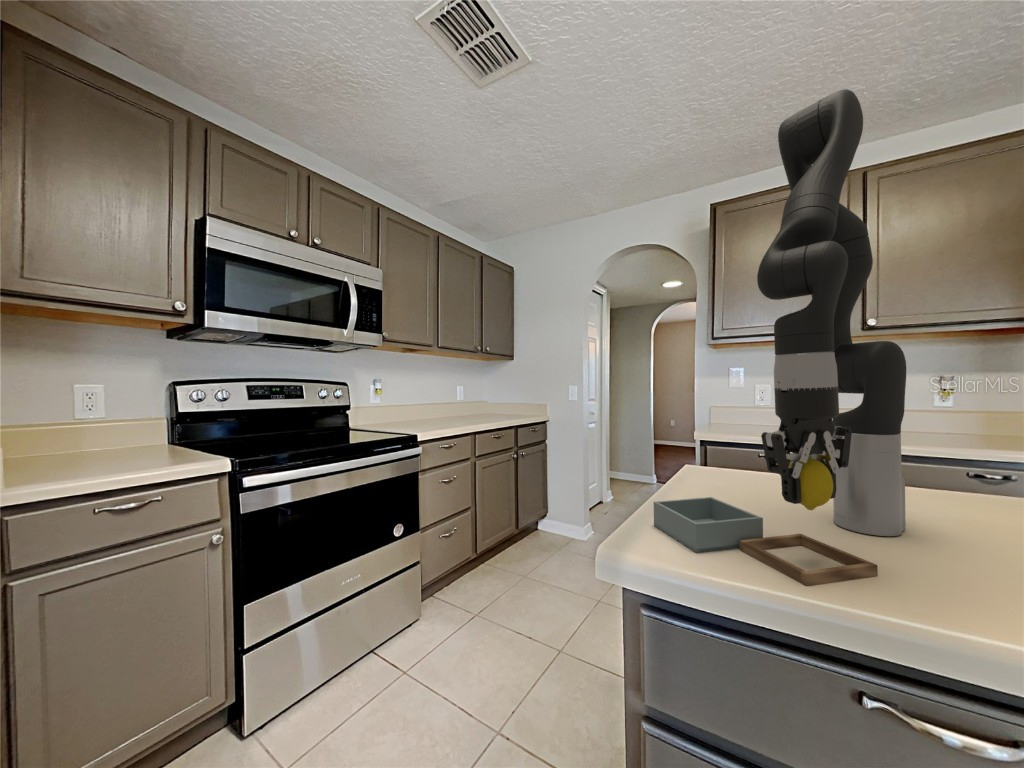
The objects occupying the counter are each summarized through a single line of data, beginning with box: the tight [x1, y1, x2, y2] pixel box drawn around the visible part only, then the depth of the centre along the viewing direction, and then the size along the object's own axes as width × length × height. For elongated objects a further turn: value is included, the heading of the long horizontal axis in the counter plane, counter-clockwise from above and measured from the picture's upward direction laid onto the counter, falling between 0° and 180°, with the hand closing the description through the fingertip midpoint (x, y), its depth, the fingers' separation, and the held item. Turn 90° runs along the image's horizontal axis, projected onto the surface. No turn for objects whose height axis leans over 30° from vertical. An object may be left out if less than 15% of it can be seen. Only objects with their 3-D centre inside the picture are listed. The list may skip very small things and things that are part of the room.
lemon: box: [789, 456, 833, 511], centre depth 59 cm, size 6×6×8 cm
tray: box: [738, 533, 878, 587], centre depth 59 cm, size 12×12×2 cm
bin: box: [653, 496, 764, 554], centre depth 70 cm, size 12×12×4 cm
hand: (809, 499), depth 59 cm, fingers closed on lemon, 5 cm apart
